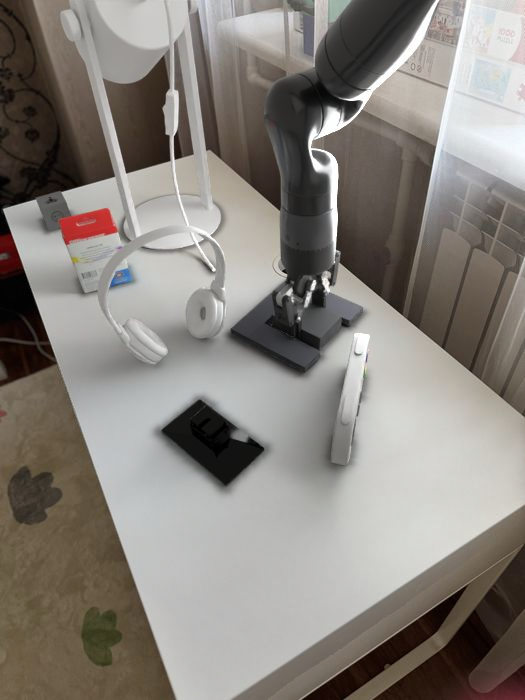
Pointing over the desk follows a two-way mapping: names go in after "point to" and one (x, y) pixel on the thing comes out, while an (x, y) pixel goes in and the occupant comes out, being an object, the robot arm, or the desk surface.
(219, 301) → the headphones
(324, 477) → the desk surface
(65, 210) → the dice cube
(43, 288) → the desk surface
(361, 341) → the game controller
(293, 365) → the base pad
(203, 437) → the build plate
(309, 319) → the small pad
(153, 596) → the desk surface
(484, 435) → the desk surface
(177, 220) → the desk lamp
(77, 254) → the ink box
